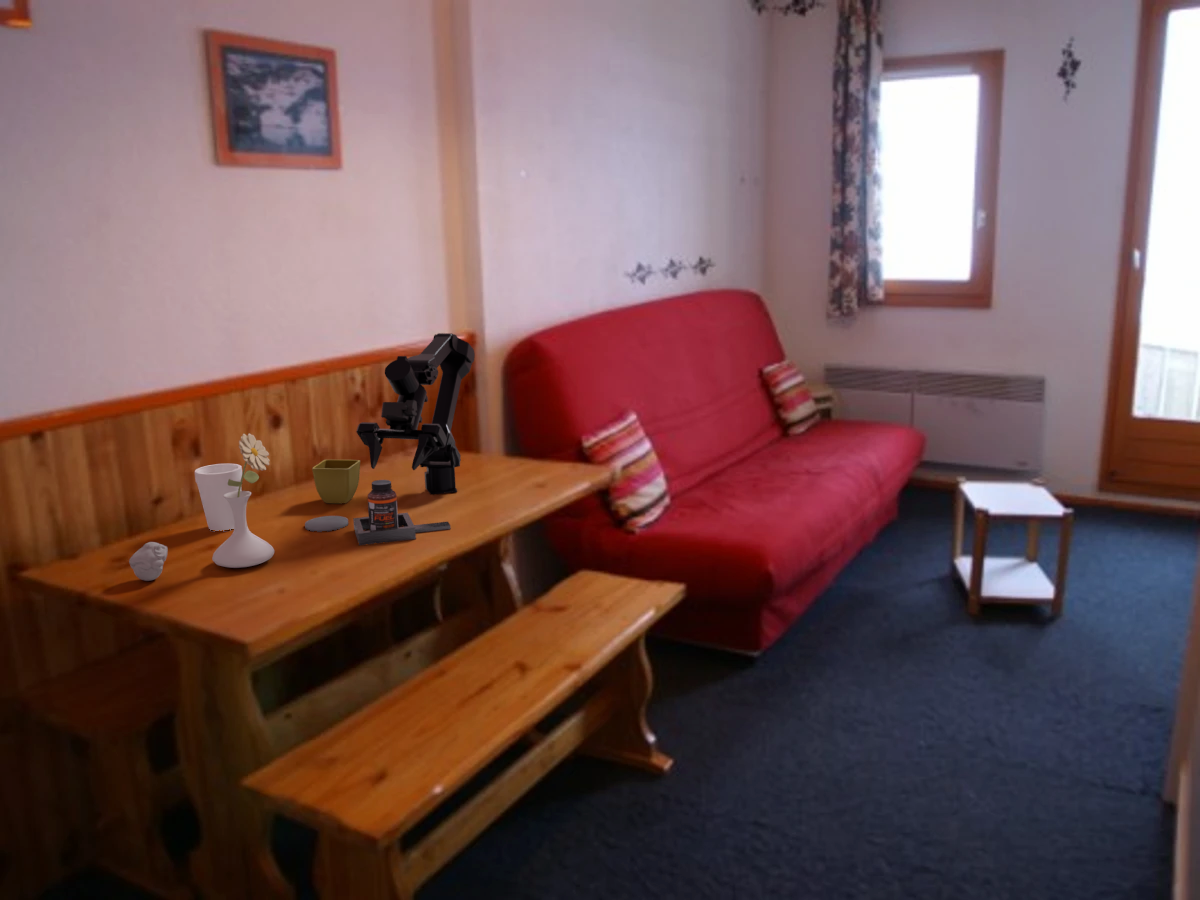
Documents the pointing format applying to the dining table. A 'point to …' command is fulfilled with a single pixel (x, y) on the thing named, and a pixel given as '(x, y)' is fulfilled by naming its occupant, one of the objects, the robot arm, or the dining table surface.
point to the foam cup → (217, 493)
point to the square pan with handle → (393, 530)
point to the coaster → (326, 523)
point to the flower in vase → (244, 514)
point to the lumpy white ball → (149, 561)
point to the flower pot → (336, 480)
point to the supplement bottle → (382, 506)
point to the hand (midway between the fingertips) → (392, 468)
